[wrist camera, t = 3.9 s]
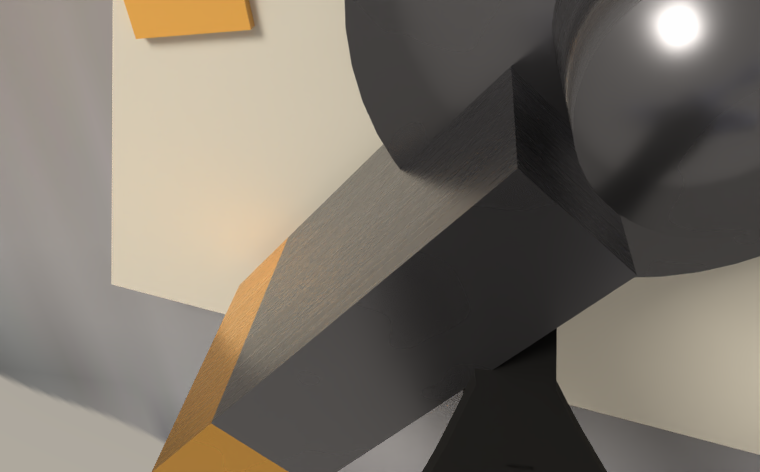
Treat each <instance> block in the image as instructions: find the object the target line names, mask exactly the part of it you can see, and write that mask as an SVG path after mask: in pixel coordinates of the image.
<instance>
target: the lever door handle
mask: <svg viewBox="0 0 760 472" xmlns="http://www.w3.org/2000/svg"><path fill="white" fill-rule="evenodd" d="M345 28H346V34H347V40H348V46H349V52H350V58H351V64H352V69H353V72H354V75H355V78H356V82H357V85H358V88H359V92H360V95H361V98H362V102H363V104H364V106H365V108H366V110H367V113H368V115H369V117H370V119H371V122H372V124H373V126H374V128H375V130H376V133H377V135H378V136H379V138H380V139H381V141H382V143H383V145H382V146H381V147H380V148H379V149H378V150H377V151H376V152H375V153H374V154H373V155H372V156H371V157H370V158H369V159H368V160H367V161H366V162H364V163H363V164H362V165H361V166H360V167H359V168H358V169H357V170H356V171H355V172H354V173H353V174H352V175H351V176H350V177H349V178H348V179H347V180H346V181H345V182H344V183H343V184H342V185H341V186H340V187H339V188H338V189H337V190H336V191H335V192H334V193H333V194H332V195H331V196H330V197H329V198H328V199H327V200H326V201H325V202H324V203H323V204H322V205H321V206H320V207H319V208H318V209H317V210H316V211H314V212H313V213H312V214H311V215H310V216H309V217H308V218H307V219H306V220H305V221H304V222H303V223H302V224H301V225H300V226H299V227H298V228H297V229H296V230H295V231H294V232H293V233H292V234H291V235H290V236H289V237H288V238H287V239H286V240H285V241H284V242H283V243H282V244H281V245H280V246H279V247H278V248H277V249H276V250H275V251H274V252H273V253H272V254H271V255H270V256H269V257H268V258H267V259H266V260H264V261H263V262H262V263H261V264H260V265H259V266H258V267H257V268H256V269H255V270H254V271H253V272H252V273H251V274H250V275H249V276H248V277H247V278H246V279H245V280H244V281H243V282H242V283H241V284H240V285H239V287H238V289H237V291H236V293H235V296H234V298H233V300H232V302H231V304H230V306H229V308H228V311H227V313H226V315H225V317H224V319H223V321H222V323H221V325H220V328H219V330H218V332H217V334H216V336H215V338H214V340H213V342H212V345H211V347H210V349H209V351H208V353H207V355H206V357H205V360H204V362H203V364H202V366H201V368H200V370H199V372H198V374H197V377H196V379H195V381H194V383H193V385H192V387H191V389H190V391H189V394H188V396H187V398H186V400H185V402H184V404H183V406H182V409H181V411H180V413H179V415H178V417H177V419H176V421H175V423H174V426H173V428H172V430H171V432H170V434H169V436H168V438H167V440H166V443H165V445H164V447H163V449H162V452H161V453H160V456H159V458H158V460H157V462H156V464H155V466H154V468H153V470H152V472H337V471H339V470H340V469H342V468H343V467H345V466H346V465H348V464H350V463H351V462H353V461H354V460H356V459H357V458H359V457H360V456H362V455H363V454H365V453H366V452H368V451H369V450H371V449H372V448H374V447H376V446H377V445H379V444H380V443H382V442H383V441H385V440H386V439H388V438H389V437H391V436H392V435H394V434H395V433H397V432H398V431H400V430H402V429H403V428H405V427H406V426H408V425H409V424H411V423H412V422H414V421H415V420H417V419H418V418H420V417H421V416H423V415H425V414H426V413H428V412H429V411H431V410H432V409H434V408H435V407H437V406H438V405H440V404H441V403H443V402H444V401H446V400H447V399H449V398H451V397H452V396H454V395H455V394H457V393H458V392H460V391H461V390H463V389H464V388H466V387H467V385H468V382H469V380H470V377H471V375H473V374H474V369H483V370H493V369H495V368H496V367H498V366H500V365H501V364H503V363H504V362H506V361H507V360H509V359H510V358H512V357H513V356H515V355H516V354H518V353H519V352H521V351H522V350H524V349H526V348H527V347H529V346H530V345H532V344H533V343H535V342H536V341H538V340H539V339H541V338H542V337H544V336H545V335H547V334H548V333H550V332H552V331H553V330H555V329H556V328H558V327H559V326H561V325H562V324H564V323H565V322H567V321H568V320H570V319H571V318H573V317H574V316H576V315H578V314H579V313H581V312H582V311H584V310H585V309H587V308H588V307H590V306H591V305H593V304H594V303H596V302H597V301H599V300H601V299H602V298H604V297H605V296H607V295H608V294H610V293H611V292H613V291H614V290H616V289H617V288H619V287H620V286H622V285H623V284H625V283H627V282H628V281H630V280H631V279H633V278H634V277H664V276H672V275H680V274H688V273H696V272H702V271H706V270H711V269H715V268H720V267H724V266H729V265H733V264H737V263H740V262H744V261H747V260H750V259H753V258H756V257H759V256H760V0H345Z"/></svg>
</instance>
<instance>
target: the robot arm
mask: <svg viewBox="0 0 760 472" xmlns="http://www.w3.org/2000/svg"><path fill="white" fill-rule="evenodd" d="M556 360H557V328H556V329H555V330H553V331H552V332H550V333H548V334H547V335H545V336H544V337H542V338H541V339H539V340H538V341H536V342H535V343H533V344H532V345H530V346H529V347H527V348H526V349H524V350H522V351H521V352H519V353H518V354H516V355H515V356H513V357H512V358H510V359H509V360H507V361H506V362H504V363H503V364H501V365H500V366H498V367H496V368H495V369H493V370H483V369H474V374H473V375H471V377H470V380H469V382H468V385H467V387H466V388H464V389H463V396H462V398H461V400H460V402H459V404H458V406H457V408H456V410H455V412H454V414H453V416H452V418H451V420H450V422H449V424H448V426H447V428H446V430H445V431H444V433H443V435H442V437H441V439H440V441H439V443H438V445H437V447H436V449H435V450H434V452H433V454H432V456H431V457H430V459H429V461H428V463H427V464H426V466H425V468H424V469H423V471H422V472H607V471H606V469H605V468H604V466H603V464H602V463H601V461H600V459H599V458H598V456H597V454H596V453H595V451H594V449H593V447H592V446H591V444H590V442H589V441H588V439H587V437H586V436H585V434H584V432H583V430H582V428H581V427H580V425H579V423H578V421H577V419H576V418H575V416H574V414H573V412H572V410H571V408H570V406H569V404H568V402H567V400H566V398H565V396H564V394H563V392H562V390H561V388H560V386H559V384H558V382H557V381H556Z"/></svg>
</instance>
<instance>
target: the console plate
mask: <svg viewBox="0 0 760 472" xmlns="http://www.w3.org/2000/svg"><path fill="white" fill-rule="evenodd" d="M382 145H383V143H382V141H381V139H380V138H379V136H378V135H377V133H376V130H375V128H374V126H373V124H372V122H371V119H370V117H369V115H368V113H367V110H366V108H365V106H364V104H363V102H362V98H361V95H360V92H359V88H358V85H357V82H356V78H355V75H354V72H353V69H352V64H351V58H350V52H349V46H348V40H347V34H346V28H345V0H113V70H112V283H111V284H112V285H116V286H120V287H124V288H128V289H131V290H135V291H139V292H143V293H147V294H150V295H154V296H158V297H162V298H166V299H169V300H173V301H177V302H181V303H185V304H188V305H192V306H196V307H200V308H204V309H207V310H211V311H215V312H219V313H223V314H226V313H227V311H228V308H229V306H230V304H231V302H232V300H233V298H234V296H235V293H236V291H237V289H238V287H239V285H240V284H241V283H242V282H243V281H244V280H245V279H246V278H247V277H248V276H249V275H250V274H251V273H252V272H253V271H254V270H255V269H256V268H257V267H258V266H259V265H260V264H261V263H262V262H263V261H264V260H266V259H267V258H268V257H269V256H270V255H271V254H272V253H273V252H274V251H275V250H276V249H277V248H278V247H279V246H280V245H281V244H282V243H283V242H284V241H285V240H286V239H287V238H288V237H289V236H290V235H291V234H292V233H293V232H294V231H295V230H296V229H297V228H298V227H299V226H300V225H301V224H302V223H303V222H304V221H305V220H306V219H307V218H308V217H309V216H310V215H311V214H312V213H313V212H314V211H316V210H317V209H318V208H319V207H320V206H321V205H322V204H323V203H324V202H325V201H326V200H327V199H328V198H329V197H330V196H331V195H332V194H333V193H334V192H335V191H336V190H337V189H338V188H339V187H340V186H341V185H342V184H343V183H344V182H345V181H346V180H347V179H348V178H349V177H350V176H351V175H352V174H353V173H354V172H355V171H356V170H357V169H358V168H359V167H360V166H361V165H362V164H363V163H364V162H366V161H367V160H368V159H369V158H370V157H371V156H372V155H373V154H374V153H375V152H376V151H377V150H378V149H379V148H380V147H381V146H382ZM556 381H557V382H558V384H559V386H560V388H561V390H562V392H563V394H564V396H565V398H566V400H567V402H568V404H569V405H572V406H576V407H580V408H584V409H587V410H591V411H595V412H599V413H603V414H606V415H610V416H614V417H618V418H622V419H625V420H629V421H633V422H637V423H640V424H644V425H648V426H652V427H656V428H659V429H663V430H667V431H671V432H675V433H678V434H682V435H686V436H690V437H694V438H697V439H701V440H705V441H709V442H713V443H716V444H720V445H724V446H728V447H732V448H735V449H739V450H743V451H747V452H751V453H754V454H758V455H760V256H759V257H756V258H753V259H750V260H747V261H744V262H740V263H737V264H733V265H729V266H724V267H720V268H715V269H711V270H706V271H702V272H696V273H688V274H680V275H672V276H664V277H634V278H633V279H631V280H630V281H628V282H627V283H625V284H623V285H622V286H620V287H619V288H617V289H616V290H614V291H613V292H611V293H610V294H608V295H607V296H605V297H604V298H602V299H601V300H599V301H597V302H596V303H594V304H593V305H591V306H590V307H588V308H587V309H585V310H584V311H582V312H581V313H579V314H578V315H576V316H574V317H573V318H571V319H570V320H568V321H567V322H565V323H564V324H562V325H561V326H559V327H558V328H557V360H556Z"/></svg>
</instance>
